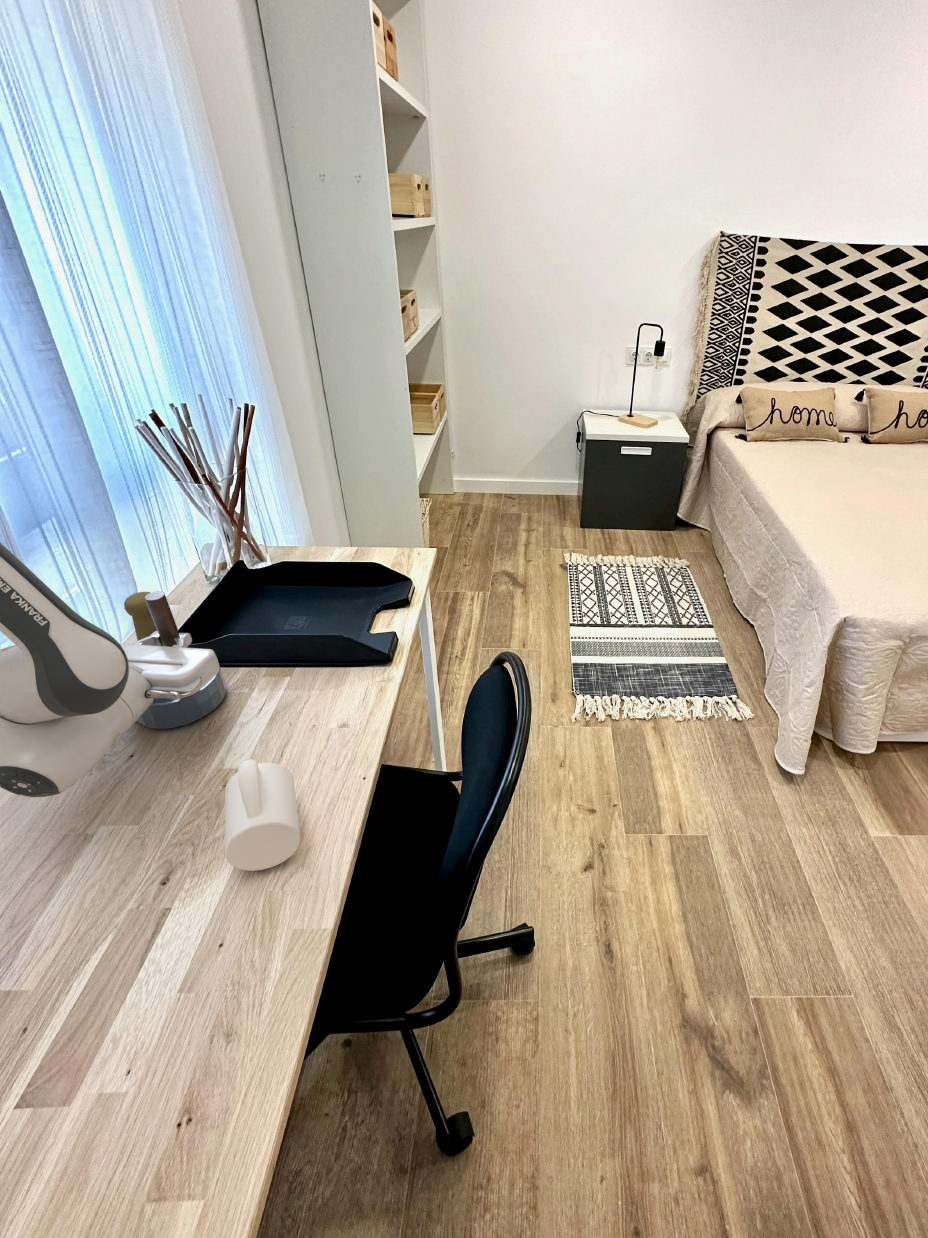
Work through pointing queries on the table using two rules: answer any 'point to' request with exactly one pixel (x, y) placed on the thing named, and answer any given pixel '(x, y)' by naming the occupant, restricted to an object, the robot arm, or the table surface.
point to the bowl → (185, 706)
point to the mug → (260, 816)
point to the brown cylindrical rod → (162, 617)
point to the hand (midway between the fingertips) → (174, 635)
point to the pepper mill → (140, 615)
